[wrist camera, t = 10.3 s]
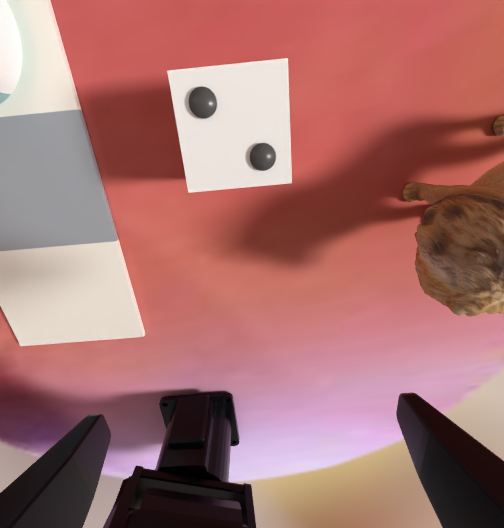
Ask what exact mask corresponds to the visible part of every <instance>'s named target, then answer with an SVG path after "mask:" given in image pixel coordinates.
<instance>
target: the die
mask: <svg viewBox="0 0 504 528" xmlns="http://www.w3.org/2000/svg"><path fill="white" fill-rule="evenodd" d="M167 72H168V78H169V83H170V89H171V95H172V101H173V107H174V112H175V118H176V124H177V130H178V135H179V141H180V147H181V153H182V159H183V164H184V170H185V176H186V182H187V188H188V193H189V192H200V191H211V190H222V189H233V188H244V187H255V186H266V185H277V184H288V183H292V171H291V141H290V110H289V79H288V58H285V59H276V60H266V61H256V62H247V63H237V64H228V65H218V66H208V67H199V68H189V69H179V70H170V71H167Z"/></svg>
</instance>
